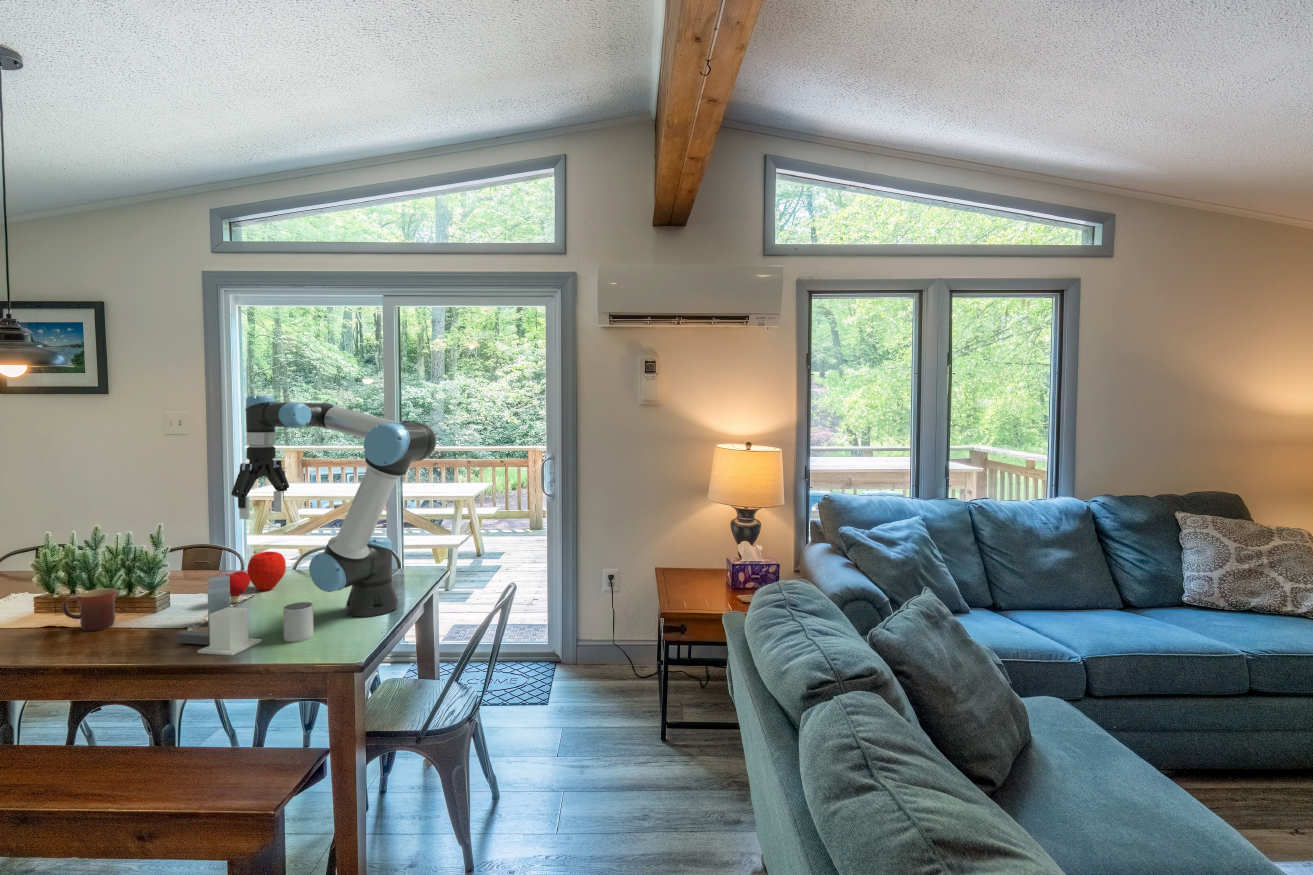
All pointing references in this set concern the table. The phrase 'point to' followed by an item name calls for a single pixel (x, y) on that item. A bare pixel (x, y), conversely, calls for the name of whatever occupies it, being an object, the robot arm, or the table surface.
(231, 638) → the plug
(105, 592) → the mug
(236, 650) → the pad
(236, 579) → the light bulb
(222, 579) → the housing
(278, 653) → the table surface
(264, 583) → the apple
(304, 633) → the cup
